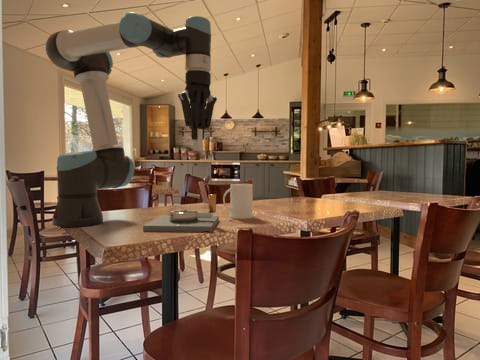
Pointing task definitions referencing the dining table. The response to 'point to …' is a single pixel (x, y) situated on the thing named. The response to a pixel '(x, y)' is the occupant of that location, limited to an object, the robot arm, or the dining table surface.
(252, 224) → the dining table surface
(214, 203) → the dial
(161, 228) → the panel
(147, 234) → the dining table surface
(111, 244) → the dining table surface
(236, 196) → the mug
